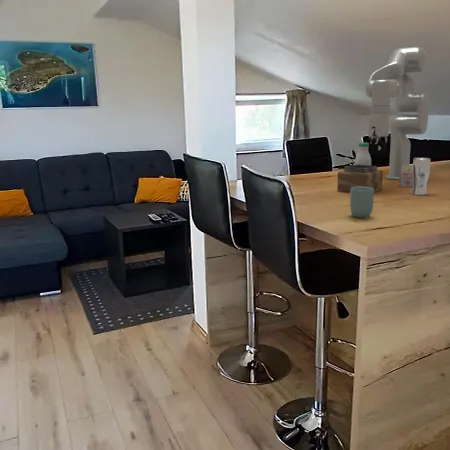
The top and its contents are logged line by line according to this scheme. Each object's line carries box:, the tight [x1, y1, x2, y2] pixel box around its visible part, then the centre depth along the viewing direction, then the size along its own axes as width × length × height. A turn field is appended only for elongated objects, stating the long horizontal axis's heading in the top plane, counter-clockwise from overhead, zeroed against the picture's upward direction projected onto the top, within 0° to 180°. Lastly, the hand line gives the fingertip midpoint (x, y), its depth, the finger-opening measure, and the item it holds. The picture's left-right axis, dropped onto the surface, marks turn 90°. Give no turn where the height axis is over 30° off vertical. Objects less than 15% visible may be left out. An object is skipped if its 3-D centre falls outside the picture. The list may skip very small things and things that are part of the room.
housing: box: [337, 164, 384, 193], centre depth 215 cm, size 14×14×11 cm
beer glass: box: [411, 157, 431, 196], centre depth 203 cm, size 7×7×15 cm
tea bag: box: [398, 164, 413, 188], centre depth 222 cm, size 4×7×10 cm, turn 70°
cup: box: [349, 187, 375, 219], centre depth 167 cm, size 8×8×10 cm
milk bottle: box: [354, 142, 372, 166], centre depth 228 cm, size 8×8×20 cm
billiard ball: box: [373, 139, 387, 155], centre depth 208 cm, size 6×6×6 cm
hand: (378, 152), depth 209 cm, fingers closed on billiard ball, 6 cm apart
